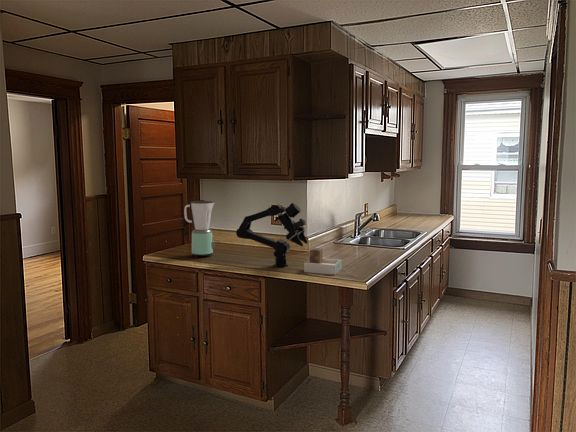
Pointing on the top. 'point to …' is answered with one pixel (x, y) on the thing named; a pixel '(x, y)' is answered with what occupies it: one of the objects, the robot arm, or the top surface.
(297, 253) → the top surface
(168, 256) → the top surface
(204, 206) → the mint green blender
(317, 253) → the walnut block
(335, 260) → the box
